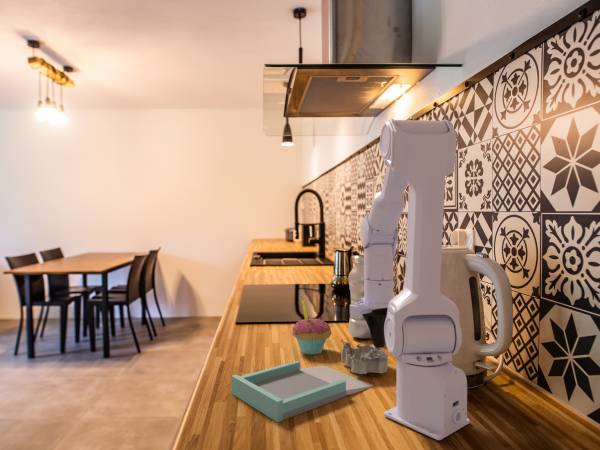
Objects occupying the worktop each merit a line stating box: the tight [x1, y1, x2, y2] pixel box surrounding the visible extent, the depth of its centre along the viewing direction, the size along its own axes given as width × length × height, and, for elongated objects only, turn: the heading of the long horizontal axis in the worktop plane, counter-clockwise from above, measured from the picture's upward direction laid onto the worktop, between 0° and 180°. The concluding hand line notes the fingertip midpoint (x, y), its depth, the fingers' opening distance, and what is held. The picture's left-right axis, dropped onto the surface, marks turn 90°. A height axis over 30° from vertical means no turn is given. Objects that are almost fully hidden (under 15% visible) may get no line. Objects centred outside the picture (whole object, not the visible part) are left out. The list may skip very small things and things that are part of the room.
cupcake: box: [291, 297, 332, 355], centre depth 94 cm, size 9×8×12 cm
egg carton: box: [340, 338, 390, 375], centre depth 83 cm, size 11×8×4 cm
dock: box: [230, 360, 375, 423], centre depth 73 cm, size 13×21×4 cm, turn 129°
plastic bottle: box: [347, 254, 372, 340], centre depth 104 cm, size 6×7×20 cm
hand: (378, 346), depth 86 cm, fingers closed, pressing on egg carton
